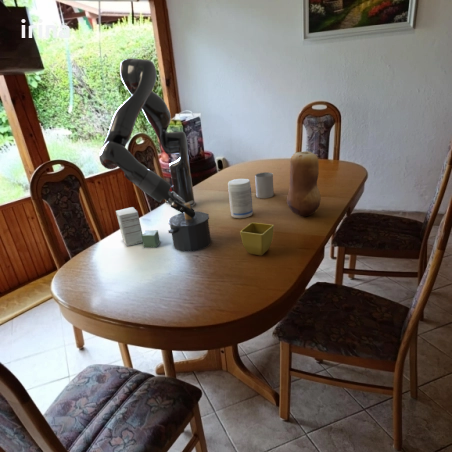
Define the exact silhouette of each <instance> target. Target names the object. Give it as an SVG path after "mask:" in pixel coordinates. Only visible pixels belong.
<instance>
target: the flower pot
mask: <svg viewBox="0 0 452 452" xmlns="http://www.w3.org/2000/svg"><path fill="white" fill-rule="evenodd" d="M274 227H275V225H274V224H269V223H261V222H253V221H252V222H250V223H249V224H247V225H246V226H245V227H244V228H242V229H241V230H240V231H239V234H240V239H241V243H242V245H243V247H244V249H245V251H246V252H247V254H250V255H257V256H263V255H264V254H265V253H266V252H268V250H269V249H270V248H271V245H272V243H273V238H274V229H275V228H274Z"/></svg>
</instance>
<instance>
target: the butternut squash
mask: <svg viewBox="0 0 452 452" xmlns="http://www.w3.org/2000/svg"><path fill="white" fill-rule="evenodd" d="M319 164H320V163H319V157H318V156H317V154H316V153H313V152H311V151H308V150H304V151H298V152H294V153H293V154H292V155H291V157H290V160H289V188H288V193H287V197H286V204H287V206H288V208H289V209H290V210H291V211H292V213H295V214H296V215H298V216H299V217H304V218H306V217H308V216H311V215H313V214H314V213H316V211H317V210H318V209H319V207H320V205H321V201H322V200H321V193H320V189H319V187H318V179H319V174H320V173H319V172H320V171H319V167H320V166H319Z"/></svg>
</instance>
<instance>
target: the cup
mask: <svg viewBox="0 0 452 452" xmlns="http://www.w3.org/2000/svg"><path fill="white" fill-rule="evenodd" d="M254 180H255V195H256V198H258V199H270V198H272V197H274V193H275V191H274V173H272V172H266V171H265V172H257V173H256V174H255V175H254Z"/></svg>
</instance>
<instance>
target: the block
mask: <svg viewBox="0 0 452 452" xmlns="http://www.w3.org/2000/svg"><path fill="white" fill-rule="evenodd" d="M142 240H143V242H142V244H143V248H144V249H147V248H148V249H149V248H150V249H151V248H152V249H153V248H157V247H158V246H159V245H160V243H161V239H160V235H159V230H158V229H155V230H153V229H152V230H145V231H144V232H142Z"/></svg>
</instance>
